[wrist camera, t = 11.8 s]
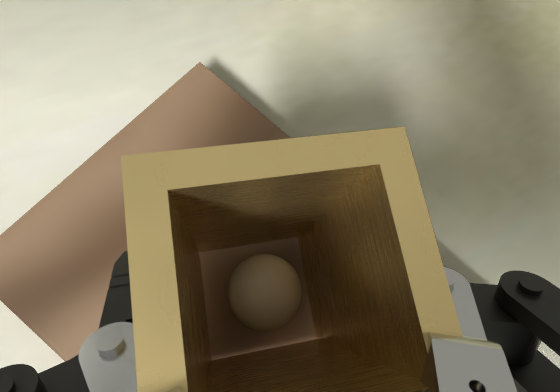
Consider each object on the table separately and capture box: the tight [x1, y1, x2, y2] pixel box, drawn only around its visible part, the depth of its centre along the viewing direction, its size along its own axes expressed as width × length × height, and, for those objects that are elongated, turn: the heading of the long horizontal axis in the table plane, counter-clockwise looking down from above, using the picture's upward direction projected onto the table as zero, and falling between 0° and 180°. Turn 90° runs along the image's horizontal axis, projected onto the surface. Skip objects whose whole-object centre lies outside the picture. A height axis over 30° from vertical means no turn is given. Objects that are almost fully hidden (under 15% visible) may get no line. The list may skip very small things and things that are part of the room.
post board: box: [0, 62, 444, 362], centre depth 15 cm, size 20×14×7 cm
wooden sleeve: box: [121, 127, 463, 392], centre depth 12 cm, size 6×6×10 cm
